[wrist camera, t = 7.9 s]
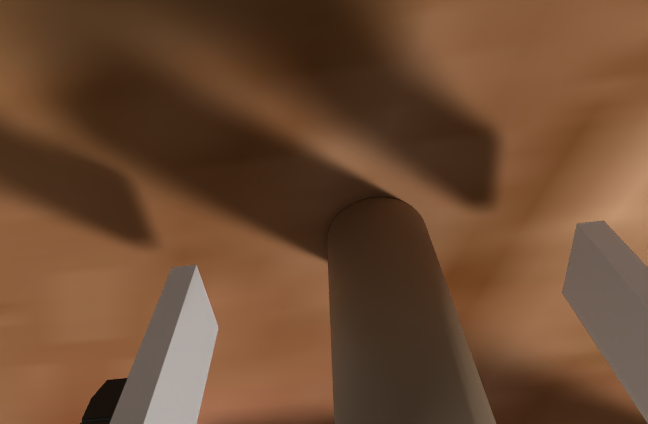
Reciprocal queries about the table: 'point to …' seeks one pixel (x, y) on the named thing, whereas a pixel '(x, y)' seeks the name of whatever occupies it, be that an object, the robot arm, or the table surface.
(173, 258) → the table surface
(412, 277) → the block
